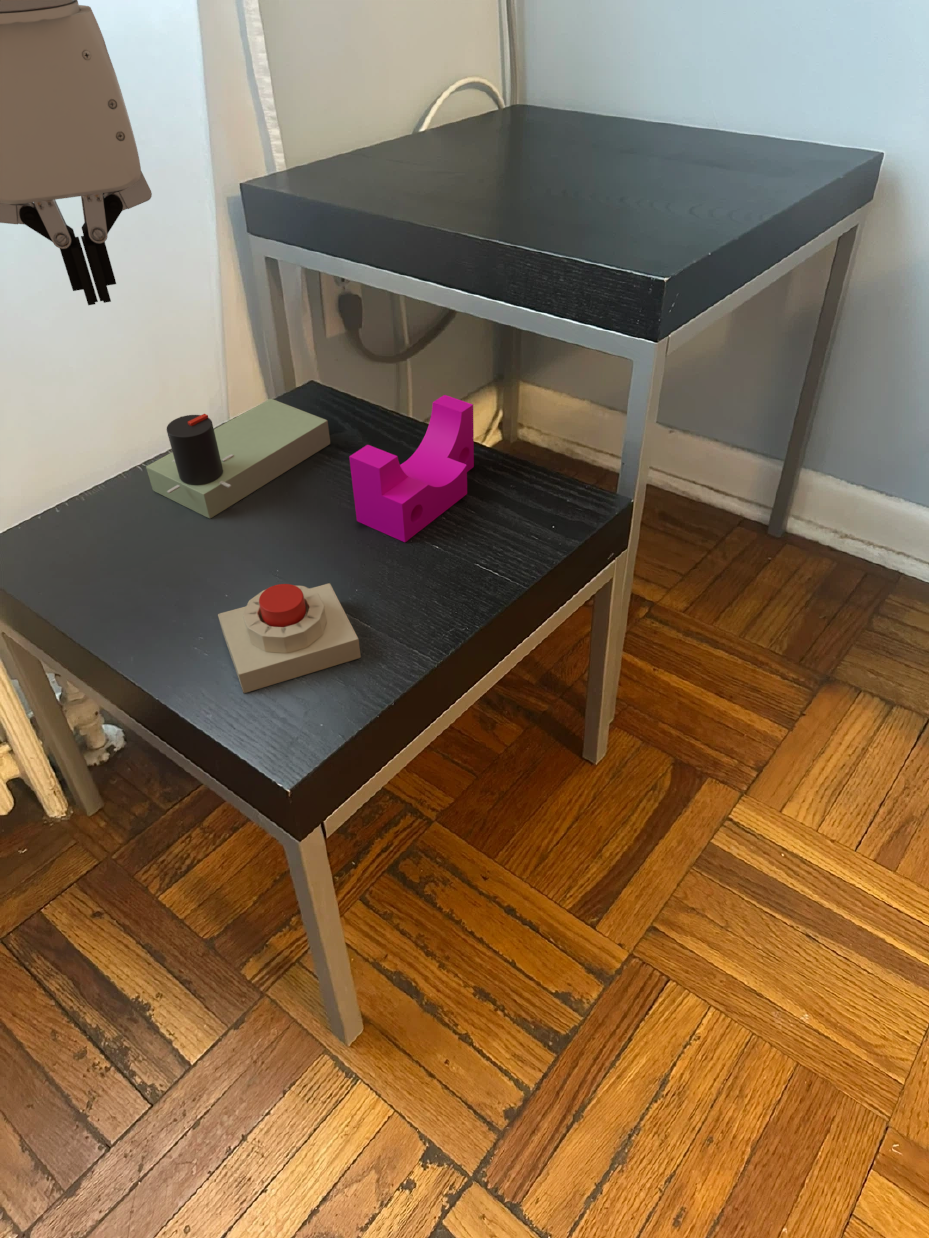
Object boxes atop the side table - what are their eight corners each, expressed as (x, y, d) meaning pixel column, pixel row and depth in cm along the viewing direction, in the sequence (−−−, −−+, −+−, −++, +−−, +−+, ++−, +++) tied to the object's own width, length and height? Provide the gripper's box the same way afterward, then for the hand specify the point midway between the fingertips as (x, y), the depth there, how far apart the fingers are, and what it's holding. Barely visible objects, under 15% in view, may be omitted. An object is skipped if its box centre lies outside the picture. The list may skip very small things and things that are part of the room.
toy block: (404, 542, 86) (399, 477, 81) (356, 521, 89) (349, 456, 84) (492, 474, 95) (493, 411, 90) (446, 456, 98) (444, 394, 93)
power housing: (243, 693, 71) (234, 658, 68) (222, 632, 77) (213, 597, 74) (361, 657, 74) (356, 622, 71) (332, 601, 80) (327, 566, 77)
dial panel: (203, 532, 88) (196, 505, 86) (138, 498, 92) (130, 473, 90) (338, 447, 100) (335, 422, 97) (274, 421, 104) (270, 397, 102)
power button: (268, 633, 71) (264, 616, 70) (257, 606, 74) (254, 590, 72) (311, 620, 72) (308, 604, 71) (299, 594, 75) (296, 578, 74)
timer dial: (197, 490, 88) (184, 439, 84) (170, 475, 90) (156, 425, 86) (232, 471, 90) (220, 420, 87) (204, 457, 93) (192, 407, 89)
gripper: (128, -29, 56) (192, 263, 68) (-134, -13, 52) (-15, 296, 64) (146, -16, 51) (211, 298, 63) (-143, 3, 46) (-12, 336, 59)
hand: (97, 296), depth 63 cm, fingers closed
